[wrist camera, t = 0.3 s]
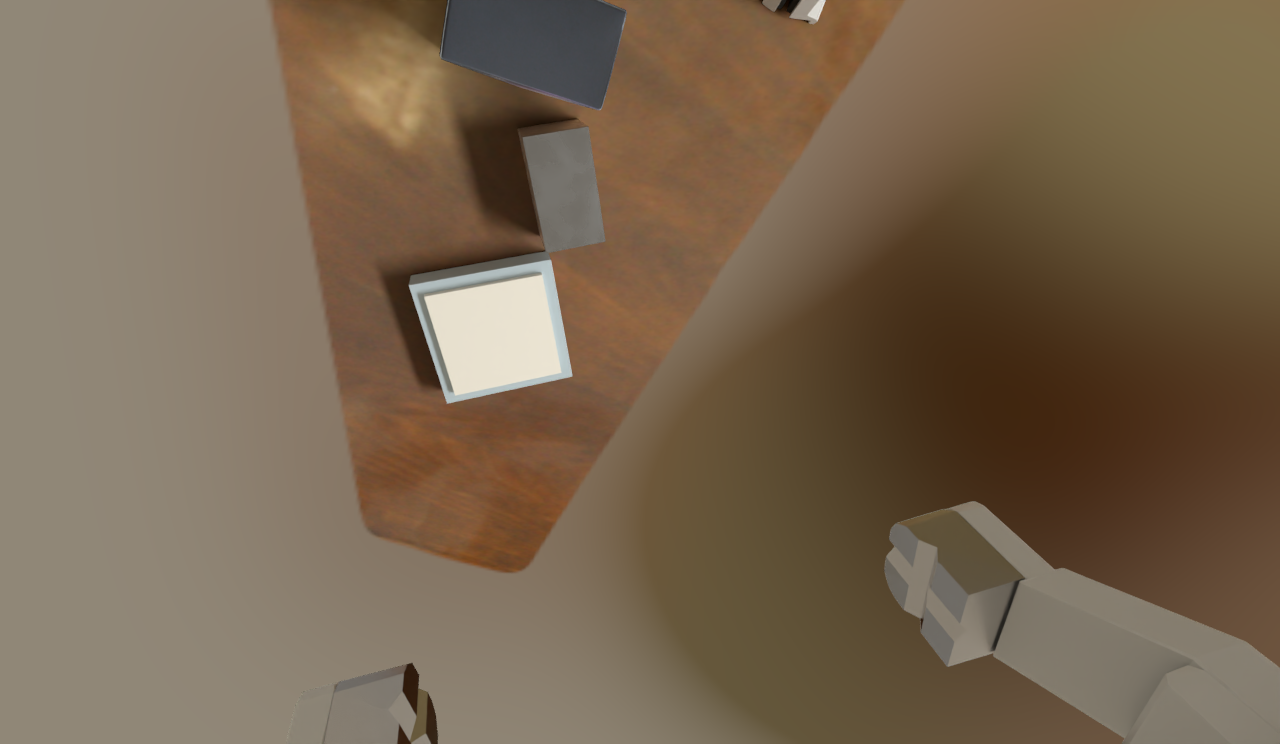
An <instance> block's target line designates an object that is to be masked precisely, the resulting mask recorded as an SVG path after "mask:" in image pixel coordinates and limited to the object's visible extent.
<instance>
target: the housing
mask: <svg viewBox="0 0 1280 744" xmlns="http://www.w3.org/2000/svg"><path fill="white" fill-rule="evenodd" d="M517 130H518V134H519V139H520V144H521V149H522V153H523V158H524V163H525V168H526V172H527V177H528V182H529V187H530V192H531V196H532V201H533V206H534V211H535V215H536V220H537V225H538V230H539V234H540V238H541V240H542V243H543V246H544V248H545V251H546V253H550V252H555V251H560V250H565V249H570V248H575V247H580V246H585V245H590V244H595V243H600V242H605V235H604V228H603V222H602V215H601V208H600V202H599V195H598V188H597V182H596V175H595V168H594V162H593V155H592V148H591V142H590V135H589V128H588V126H587V125H585V124H584V123H583V122H581V121H580V120H579V119H573V120H567V121H561V122H554V123H548V124H542V125H536V126H530V127H524V128H517Z"/></svg>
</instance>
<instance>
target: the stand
mask: <svg viewBox="0 0 1280 744" xmlns="http://www.w3.org/2000/svg"><path fill="white" fill-rule="evenodd" d="M409 288H410V291H411V294H412V297H413V300H414V303H415V306H416V309H417V312H418V316H419V319H420V322H421V325H422V328H423V331H424V334H425V337H426V340H427V343H428V346H429V349H430V352H431V355H432V358H433V362H434V365H435V368H436V371H437V374H438V377H439V380H440V383H441V386H442V389H443V392H444V395H445V398H446V401H447V403H452V402H456V401H461V400H466V399H470V398H475V397H480V396H484V395H489V394H493V393H498V392H503V391H507V390H512V389H517V388H521V387H526V386H530V385H535V384H540V383H544V382H549V381H554V380H558V379H563V378H567V377H572V371H571V365H570V360H569V355H568V349H567V344H566V338H565V333H564V328H563V322H562V317H561V311H560V306H559V301H558V295H557V290H556V285H555V279H554V274H553V268H552V263H551V259H550V256H549V253H546V251H544V252H539V253H533V254H528V255H522V256H516V257H511V258H505V259H500V260H494V261H489V262H483V263H477V264H472V265H466V266H461V267H455V268H450V269H444V270H438V271H433V272H427V273H422V274H416V275H411V277H410V282H409Z"/></svg>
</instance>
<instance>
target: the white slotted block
mask: <svg viewBox="0 0 1280 744" xmlns="http://www.w3.org/2000/svg"><path fill="white" fill-rule="evenodd" d="M786 1H787V0H763V2H762V4H763V5H764V6H766V7H767V8H769V9H770V10H771V11H773V12H775V10H776V8H779V9H781V8H782V7H783V5H784V4H785V2H786ZM824 3H825V0H790V2H789V5H788V8H787V12H789V13H791V14H790V17H789V18H794V19H802V20H809V21H808V23H809V24H814V23H816V22H817V21H818V18H819V16H820V13H821V11H822V8H823V6H824Z"/></svg>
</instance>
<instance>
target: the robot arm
mask: <svg viewBox="0 0 1280 744" xmlns="http://www.w3.org/2000/svg"><path fill="white" fill-rule="evenodd" d="M889 540H890V541H891V542H892V543H893V544H894V546H895V547H894V548H893V549H892V550H891V552H890V553H889V554H888V555H887V557H886V562H885V570H884V571H885V574H886V578H887V582H888V586H889V588H890V590H891V592H892V593H893V595H894V597H895V599H896V600H897V601H898V603H899V604H900V605H901V606H902V608H903V610H905V611H907V612H909V613H911V614H913V615H914V616H916V617H918V618H920V625H921V633H922V634H923V636H924V637H925V638H926V640H927V641H928V642H929V644H930V645H931V646H932V648H933V649H934V650H935V651H936V653H937V654H938V655H939V657H940V658H941V659H942V661H943V662H944V663H945V664H946V666H947V667H948V666H952V665H955V664H958V663H962V662H965V661H969V660H972V659H975V658H979V657H981V656H985V655H988V654H992V653H994V655H993V656H994V657H995V658H997V659H999V660H1000V661H1002V662H1004V663H1005V664H1007V665H1008V666H1010V667H1011V668H1013V669H1015V670H1016V671H1018V672H1019V673H1021V674H1023V675H1024V676H1026V677H1027V678H1029V679H1031V680H1032V681H1034V682H1035V683H1037V684H1039V685H1040V686H1042V687H1043V688H1045V689H1047V690H1048V691H1050V692H1051V693H1053V694H1055V695H1056V696H1058V697H1060V698H1061V699H1063V700H1064V701H1066V702H1068V703H1069V704H1071V705H1072V706H1074V707H1075V708H1077V709H1079V710H1080V711H1082V712H1083V713H1085V714H1087V715H1088V716H1090V717H1091V718H1093V719H1095V720H1096V721H1098V722H1100V723H1101V724H1103V725H1104V726H1106V727H1108V728H1109V729H1111V730H1112V731H1114V732H1116V733H1117V734H1119V735H1120V736H1122V737H1123V738H1125V739H1124V741H1123V742H1122V744H1280V668H1279V667H1278V666H1276V665H1275V664H1274V663H1273V662H1271V661H1270V660H1269V659H1268V658H1266V657H1265V656H1264V655H1262V654H1261V653H1260V652H1258V651H1257V650H1256V649H1255V648H1253V647H1252V646H1251V645H1250V644H1248V643H1247V642H1245V641H1243V640H1240V639H1238V638H1235V637H1233V636H1230V635H1228V634H1225V633H1223V632H1220V631H1218V630H1215V629H1213V628H1210V627H1208V626H1206V625H1203V624H1201V623H1198V622H1196V621H1193V620H1191V619H1188V618H1186V617H1183V616H1181V615H1178V614H1176V613H1173V612H1171V611H1168V610H1166V609H1163V608H1161V607H1158V606H1156V605H1154V604H1151V603H1149V602H1146V601H1144V600H1141V599H1139V598H1136V597H1134V596H1131V595H1129V594H1126V593H1124V592H1121V591H1119V590H1116V589H1114V588H1111V587H1109V586H1106V585H1104V584H1102V583H1099V582H1097V581H1094V580H1092V579H1089V578H1087V577H1084V576H1082V575H1079V574H1076V573H1074V572H1072V571H1069V570H1067V569H1064V568H1060V569H1057V570H1054V569H1053V568H1052V567H1051V566H1050V565H1049V564H1048V563H1047V562H1045V561H1044V560H1043V559H1042V558H1041V557H1040V556H1039V555H1038V554H1037V553H1036V552H1035V551H1033V550H1032V549H1031V548H1030V547H1029V546H1028V545H1027V544H1026V543H1025V542H1023V541H1022V540H1021V539H1020V538H1019V537H1018V536H1017V535H1016V534H1014V533H1013V532H1012V531H1011V530H1010V529H1009V528H1008V527H1007V526H1006V525H1005V524H1003V523H1002V522H1001V521H1000V520H999V519H998V518H997V517H996V516H995V515H993V514H992V513H991V512H990V511H989V510H988V509H987V508H986V507H985V506H983V505H982V504H979V503H977V502H975V501H973V502H968V503H965V504H961V505H958V506H955V507H951V508H948V509H942V510H938V511H935V512H932V513H928V514H925V515H922V516H919V517H915V518H912V519H909V520H905V521H902V522H899V523H896V524H895V525H894V526H893V527H892V528H891V532H890V537H889ZM418 687H419V674H418V672H417V670H416V669H415V667H414V665H413V663H409V664H405V665H401V666H398V667H393V668H390V669H386V670H382V671H378V672H374V673H371V674H367V675H363V676H359V677H355V678H352V679H348V680H344V681H340V682H336V683H332V684H329V685H326V686H322V687H319V688H315V689H311V690H308V691H304V692H303V693H302V695H301V697H300V698H299V700H298V702H297V704H296V705H295V709H294V713H293V717H292V720H291V725H290V728H289V733H288V736H287V741H286V744H438V730H437V721H436V713H435V710H434V706H433V703H432V700H431V698H430V696H429V694H428V692H426V691H424V690H421V689H419V688H418Z"/></svg>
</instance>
